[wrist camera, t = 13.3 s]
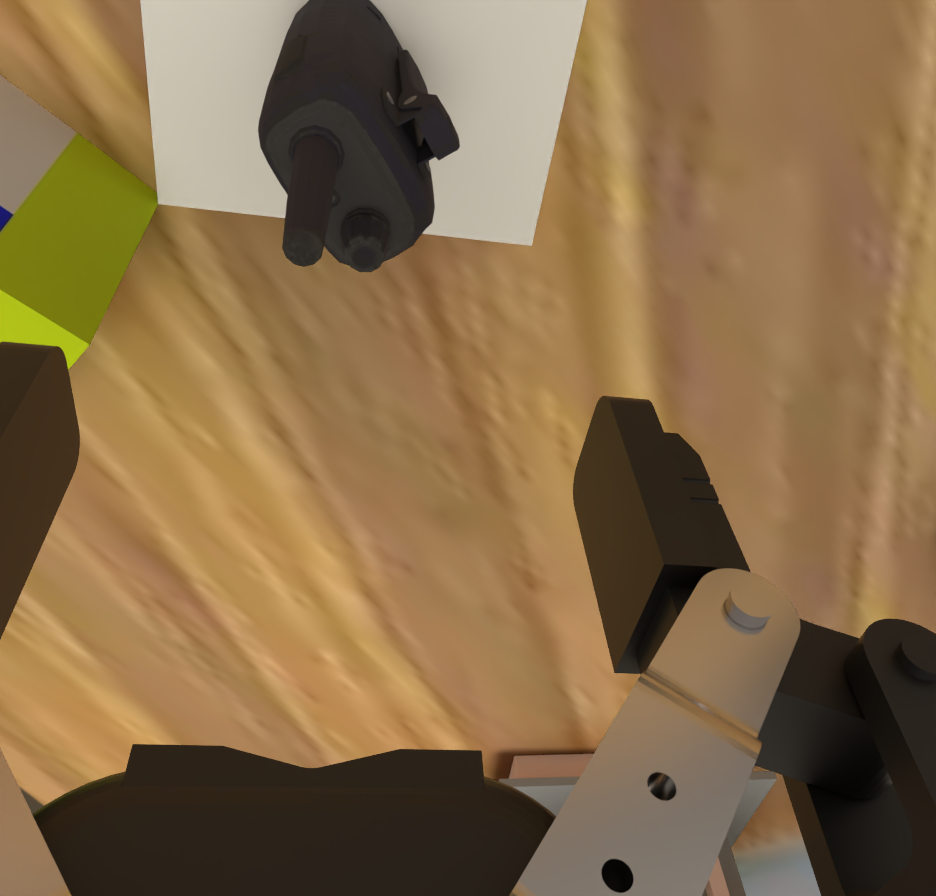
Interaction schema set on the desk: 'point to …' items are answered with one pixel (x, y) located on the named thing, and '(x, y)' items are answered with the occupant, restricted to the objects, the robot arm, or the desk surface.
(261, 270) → the desk surface
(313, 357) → the desk surface
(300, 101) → the two-way radio
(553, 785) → the desk lamp
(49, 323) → the puzzle toy
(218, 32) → the mat
